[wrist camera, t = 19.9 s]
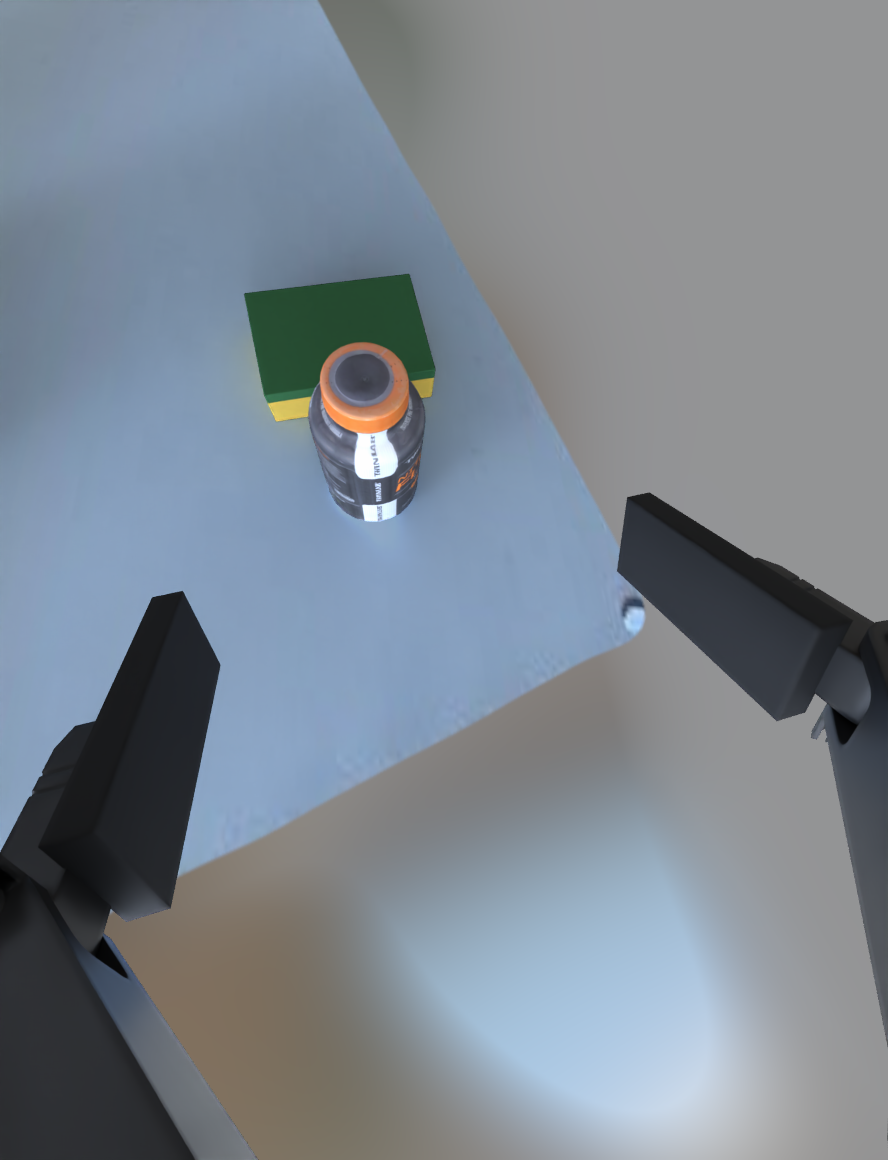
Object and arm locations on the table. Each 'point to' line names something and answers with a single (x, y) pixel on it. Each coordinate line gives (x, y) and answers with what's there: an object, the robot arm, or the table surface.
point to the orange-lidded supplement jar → (368, 430)
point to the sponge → (333, 334)
